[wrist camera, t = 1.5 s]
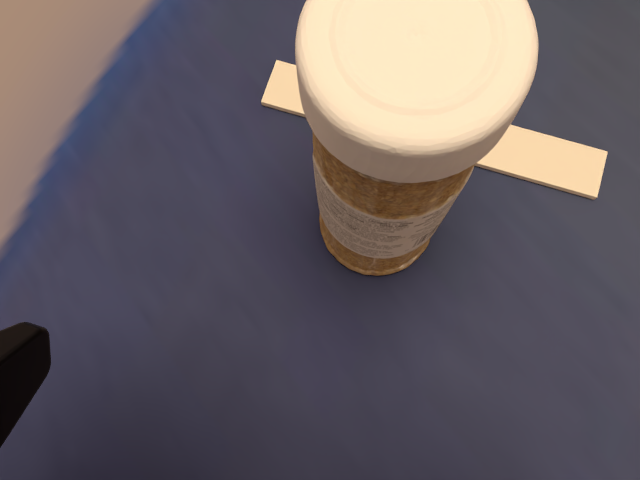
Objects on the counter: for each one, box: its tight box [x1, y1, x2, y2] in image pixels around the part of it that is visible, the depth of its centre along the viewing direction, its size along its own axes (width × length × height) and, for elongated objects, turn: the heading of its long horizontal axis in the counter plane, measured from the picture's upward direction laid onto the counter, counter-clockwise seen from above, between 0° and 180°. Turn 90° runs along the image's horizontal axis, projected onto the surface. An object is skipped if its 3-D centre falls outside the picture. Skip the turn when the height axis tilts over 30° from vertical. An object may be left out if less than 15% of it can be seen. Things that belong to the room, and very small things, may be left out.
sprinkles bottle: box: [295, 0, 538, 276], centre depth 17 cm, size 5×5×13 cm
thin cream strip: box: [261, 60, 607, 200], centre depth 25 cm, size 2×14×1 cm, turn 72°
